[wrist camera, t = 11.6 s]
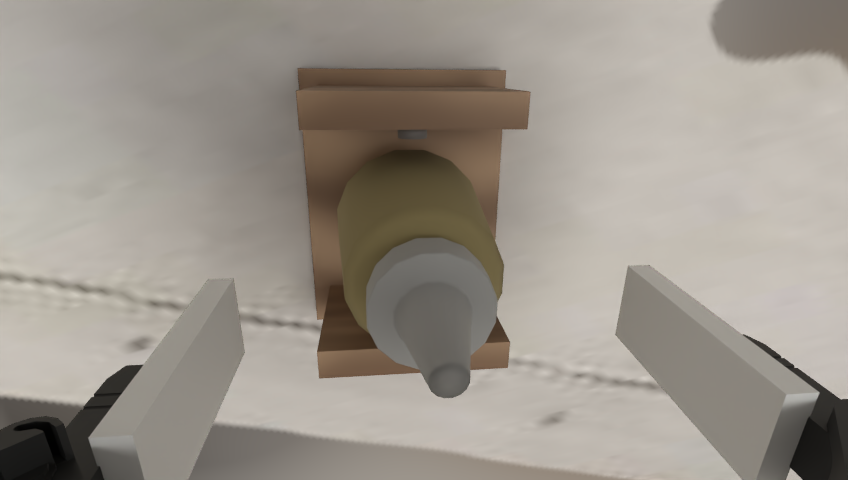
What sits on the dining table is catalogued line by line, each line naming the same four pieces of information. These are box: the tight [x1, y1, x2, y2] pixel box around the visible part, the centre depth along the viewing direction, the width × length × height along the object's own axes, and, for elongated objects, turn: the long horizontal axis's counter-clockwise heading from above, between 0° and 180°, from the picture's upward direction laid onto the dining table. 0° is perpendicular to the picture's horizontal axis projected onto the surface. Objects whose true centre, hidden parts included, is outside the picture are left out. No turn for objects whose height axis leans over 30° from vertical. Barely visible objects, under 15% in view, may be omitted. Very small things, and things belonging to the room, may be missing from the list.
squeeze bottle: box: [337, 150, 504, 398], centre depth 21 cm, size 8×8×18 cm
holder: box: [296, 68, 530, 378], centre depth 26 cm, size 16×12×9 cm
